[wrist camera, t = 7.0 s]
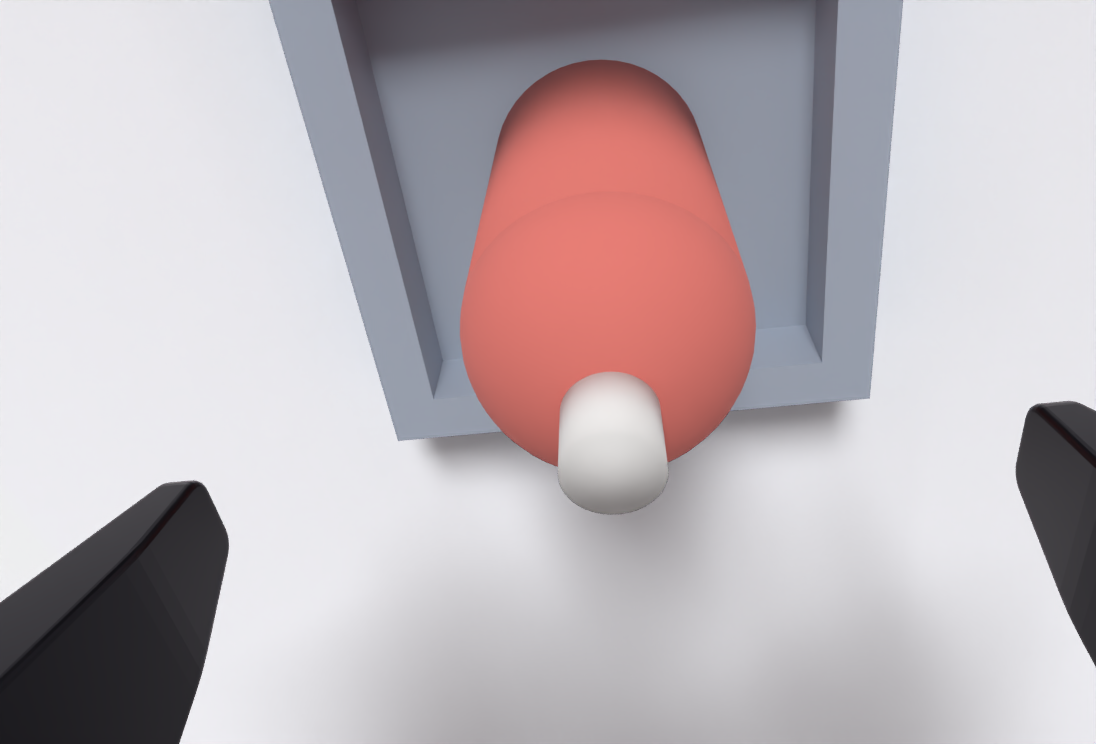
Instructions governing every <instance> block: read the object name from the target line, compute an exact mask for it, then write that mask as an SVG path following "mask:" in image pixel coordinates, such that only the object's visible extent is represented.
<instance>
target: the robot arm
mask: <svg viewBox="0 0 1096 744" xmlns="http://www.w3.org/2000/svg"><path fill="white" fill-rule="evenodd" d="M1016 480H1017V484H1018V488H1019V491H1020V493H1021V496H1022V498H1023V501H1024V504H1025V506H1026V509H1027V511H1028V514H1029V516H1030V519H1031V521H1032V524H1033V527H1034V529H1035V532H1036V534H1037V537H1038V539H1039V542H1040V545H1041V547H1042V550H1043V552H1044V555H1045V557H1046V560H1047V562H1048V565H1049V568H1050V570H1051V573H1052V575H1053V578H1054V580H1055V583H1056V586H1057V588H1058V591H1059V593H1060V596H1061V598H1062V600H1063V603H1064V605H1065V607H1066V610H1067V612H1068V614H1069V616H1070V618H1071V620H1072V622H1073V624H1074V626H1075V628H1076V630H1077V632H1078V634H1079V636H1080V638H1081V640H1082V642H1083V644H1084V646H1085V648H1086V649H1087V651H1088V653H1089V655H1090V657H1091V659H1092V661H1093V662H1094V664H1095V666H1096V411H1095V410H1093V409H1091V408H1089V407H1087V406H1085V405H1083V404H1080V403H1078V402H1074V401H1063V402H1052V403H1041V404H1036V405H1034V406H1033V407H1031V408H1030V409H1029V411H1028V413H1027V415H1026V418H1025V423H1024V428H1023V433H1022V438H1021V443H1020V447H1019V452H1018V457H1017V462H1016ZM228 551H229V540H228V535H227V532H226V529H225V527H224V525H223V522H222V520H221V518H220V516H219V514H218V512H217V510H216V507H215V505H214V503H213V501H212V499H211V497H210V495H209V492H208V491H207V489H206V487H205V486H204V485H203V484H202V483H200V482H198V481H194V480H193V481H181V482H170V483H165V484H162V485H161V486H159V487H158V488H156V489H155V490H153V491H152V492H151V493H149V494H148V495H147V496H145V497H144V498H142V499H141V500H140V501H138V502H137V503H136V504H134V505H133V506H132V507H130V508H129V509H127V510H126V511H125V512H123V513H122V514H121V515H119V516H118V517H116V518H115V519H114V520H112V521H111V522H110V523H108V524H107V525H106V526H104V527H103V528H101V529H100V530H99V531H97V532H96V533H95V534H93V535H92V536H91V537H89V538H88V539H86V540H85V541H84V542H82V543H81V544H80V545H78V546H77V547H75V548H74V549H73V550H71V551H70V552H69V553H67V554H66V555H65V556H63V557H62V558H60V559H59V560H58V561H56V562H55V563H54V564H52V565H51V566H50V567H48V568H47V569H45V570H44V571H43V572H41V573H40V574H39V575H37V576H36V577H34V578H33V579H32V580H30V581H29V582H28V583H26V584H25V585H24V586H22V587H21V588H19V589H18V590H17V591H15V592H14V593H13V594H11V595H10V596H9V597H7V598H6V599H4V600H3V601H2V602H0V744H179V742H180V739H181V736H182V733H183V730H184V727H185V724H186V721H187V718H188V715H189V712H190V709H191V706H192V703H193V700H194V697H195V694H196V691H197V688H198V685H199V681H200V678H201V675H202V671H203V667H204V663H205V659H206V655H207V651H208V646H209V641H210V637H211V632H212V627H213V623H214V618H215V613H216V609H217V604H218V599H219V595H220V590H221V585H222V581H223V576H224V571H225V567H226V562H227V557H228Z"/></svg>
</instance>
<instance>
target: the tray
mask: <svg viewBox="0 0 1096 744" xmlns="http://www.w3.org/2000/svg"><path fill="white" fill-rule="evenodd" d="M269 3H270V7H271V10H272V13H273V17H274V20H275V24H276V27H277V30H278V34H279V37H280V41H281V44H282V47H283V51H284V54H285V58H286V61H287V64H288V68H289V71H290V75H291V78H292V81H293V85H294V88H295V92H296V95H297V98H298V102H299V105H300V109H301V112H302V115H303V119H304V122H305V126H306V129H307V132H308V136H309V139H310V143H311V146H312V149H313V153H314V156H315V160H316V163H317V166H318V170H319V173H320V177H321V180H322V183H323V187H324V190H325V194H326V197H327V200H328V204H329V207H330V211H331V214H332V217H333V221H334V224H335V228H336V231H337V234H338V238H339V241H340V245H341V248H342V251H343V255H344V258H345V262H346V265H347V268H348V272H349V275H350V279H351V282H352V285H353V289H354V292H355V296H356V299H357V302H358V306H359V309H360V313H361V316H362V319H363V323H364V326H365V330H366V333H367V336H368V340H369V343H370V347H371V350H372V353H373V357H374V360H375V364H376V367H377V370H378V374H379V377H380V381H381V384H382V387H383V391H384V394H385V398H386V401H387V405H388V408H389V411H390V415H391V418H392V422H393V425H394V428H395V432H396V435H397V439H398V441H402V440H413V439H424V438H435V437H446V436H458V435H469V434H480V433H491V432H502V431H501V430H500V428H499V427H498V426H497V425H496V424H495V423H494V422H493V420H492V419H491V418H490V416H489V415H488V414H487V412H486V411H485V409H484V408H483V406H482V405H481V403H480V402H479V400H478V398H477V396H476V394H475V392H474V389H473V387H472V385H471V383H470V380H469V378H468V375H467V372H466V368H465V365H464V361H463V355H462V348H461V341H460V315H461V306H462V301H463V295H464V290H465V285H466V281H467V276H468V272H469V267H470V263H471V258H472V254H473V250H474V245H475V241H476V236H477V232H478V227H479V223H480V218H481V214H482V209H483V205H484V200H485V196H486V191H487V187H488V182H489V178H490V174H491V169H492V165H493V160H494V156H495V151H496V147H497V142H498V138H499V135H500V132H501V128H502V125H503V123H504V121H505V119H506V117H507V115H508V113H509V111H510V110H511V108H512V107H513V105H514V104H515V102H516V101H517V100H518V99H519V97H520V96H521V95H522V94H523V93H524V92H525V91H526V90H527V89H528V88H529V87H530V86H531V85H532V84H534V83H535V82H536V81H538V80H539V79H541V78H542V77H544V76H545V75H547V74H548V73H550V72H552V71H554V70H556V69H558V68H561V67H564V66H567V65H570V64H573V63H577V62H582V61H587V60H615V61H621V62H625V63H630V64H633V65H636V66H639V67H641V68H644V69H646V70H648V71H650V72H652V73H654V74H655V75H657V76H659V77H660V78H661V79H663V80H664V81H666V82H667V83H668V84H669V85H670V86H671V87H672V88H673V89H674V90H676V91H677V92H678V93H679V95H680V96H681V97H682V99H683V100H684V101H685V102H686V104H687V105H688V107H689V109H690V111H691V112H692V114H693V116H694V119H695V121H696V124H697V126H698V129H699V132H700V135H701V138H702V141H703V144H704V147H705V150H706V153H707V156H708V159H709V162H710V165H711V168H712V171H713V174H714V177H715V180H716V183H717V186H718V189H719V192H720V195H721V198H722V201H723V204H724V207H725V211H726V214H727V217H728V220H729V223H730V226H731V229H732V232H733V235H734V238H735V241H736V244H737V247H738V250H739V253H740V256H741V259H742V262H743V265H744V268H745V271H746V274H747V277H748V280H749V284H750V288H751V292H752V297H753V301H754V307H755V317H756V334H755V346H754V354H753V358H752V362H751V366H750V370H749V373H748V376H747V379H746V381H745V384H744V386H743V388H742V391H741V393H740V395H739V396H738V398H737V400H736V401H735V403H734V405H733V407H732V408H731V410H730V411H734V410H746V409H757V408H768V407H779V406H790V405H801V404H812V403H823V402H834V401H845V400H856V399H867V398H870V389H871V377H872V365H873V353H874V341H875V329H876V317H877V306H878V294H879V282H880V270H881V258H882V246H883V234H884V222H885V210H886V198H887V186H888V174H889V162H890V150H891V138H892V126H893V114H894V102H895V90H896V79H897V67H898V55H899V43H900V31H901V19H902V7H903V0H269Z"/></svg>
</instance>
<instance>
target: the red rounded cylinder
mask: <svg viewBox="0 0 1096 744" xmlns="http://www.w3.org/2000/svg"><path fill="white" fill-rule="evenodd" d="M755 334H756V317H755V307H754V301H753V297H752V292H751V288H750V284H749V280H748V277H747V274H746V271H745V268H744V265H743V262H742V259H741V256H740V253H739V250H738V247H737V244H736V241H735V238H734V235H733V232H732V229H731V226H730V223H729V220H728V217H727V214H726V211H725V207H724V204H723V201H722V198H721V195H720V192H719V189H718V186H717V183H716V180H715V177H714V174H713V171H712V168H711V165H710V162H709V159H708V156H707V153H706V150H705V147H704V144H703V141H702V138H701V135H700V132H699V129H698V126H697V124H696V121H695V119H694V116H693V114H692V112H691V111H690V109H689V107H688V105H687V104H686V102H685V101H684V100H683V99H682V97H681V96H680V95H679V93H678V92H677V91H676V90H674V89H673V88H672V87H671V86H670V85H669V84H668V83H667V82H666V81H664V80H663V79H661V78H660V77H659V76H657V75H655V74H654V73H652V72H650V71H648V70H646V69H644V68H641V67H639V66H636V65H633V64H630V63H625V62H621V61H615V60H587V61H582V62H577V63H573V64H570V65H567V66H564V67H561V68H558V69H556V70H554V71H552V72H550V73H548V74H547V75H545V76H544V77H542V78H541V79H539V80H538V81H536V82H535V83H534V84H532V85H531V86H530V87H529V88H528V89H527V90H526V91H525V92H524V93H523V94H522V95H521V96H520V97H519V99H518V100H517V101H516V102H515V104H514V105H513V107H512V108H511V110H510V111H509V113H508V115H507V117H506V119H505V121H504V123H503V125H502V128H501V132H500V135H499V138H498V142H497V147H496V151H495V156H494V160H493V165H492V169H491V174H490V178H489V182H488V187H487V191H486V196H485V200H484V205H483V209H482V214H481V218H480V223H479V227H478V232H477V236H476V241H475V245H474V250H473V254H472V258H471V263H470V267H469V272H468V276H467V281H466V285H465V290H464V295H463V301H462V306H461V315H460V341H461V348H462V355H463V361H464V365H465V368H466V372H467V375H468V378H469V380H470V383H471V385H472V387H473V389H474V392H475V394H476V396H477V398H478V400H479V402H480V403H481V405H482V406H483V408H484V409H485V411H486V412H487V414H488V415H489V416H490V418H491V419H492V420H493V422H494V423H495V424H496V425H497V426H498V427H499V428H500V430H501V431H502V432H503V433H504V434H505V435H506V436H508V437H509V438H510V439H511V440H512V441H513V442H514V443H516V444H517V445H519V446H520V447H522V448H523V449H524V450H526V451H527V452H529V453H530V454H532V455H533V456H535V457H537V458H539V459H541V460H543V461H545V462H547V463H549V464H552V465H554V466H557V467H558V480H559V484H560V486H561V488H562V490H563V492H564V493H565V495H566V496H567V497H568V498H569V499H570V500H571V501H572V502H574V503H575V504H577V505H578V506H580V507H582V508H584V509H586V510H589V511H592V512H595V513H601V514H624V513H629V512H633V511H636V510H639V509H641V508H643V507H645V506H647V505H648V504H650V503H651V502H653V501H654V500H655V499H656V498H657V497H658V496H659V495H660V494H661V492H662V491H663V489H664V487H665V485H666V483H667V479H668V462H670V461H672V460H674V459H676V458H678V457H680V456H681V455H683V454H685V453H686V452H688V451H690V450H691V449H692V448H694V447H695V446H696V445H698V444H699V443H700V442H701V441H703V440H704V439H705V438H706V437H707V436H708V435H709V434H710V433H712V432H713V431H714V430H715V429H716V428H717V427H718V426H719V424H720V423H721V422H722V420H723V419H724V418H725V417H726V415H727V414H728V413H729V411H730V410H731V408H732V407H733V405H734V403H735V401H736V400H737V398H738V396H739V395H740V393H741V391H742V388H743V386H744V384H745V381H746V379H747V376H748V373H749V370H750V366H751V362H752V358H753V354H754V346H755Z"/></svg>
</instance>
